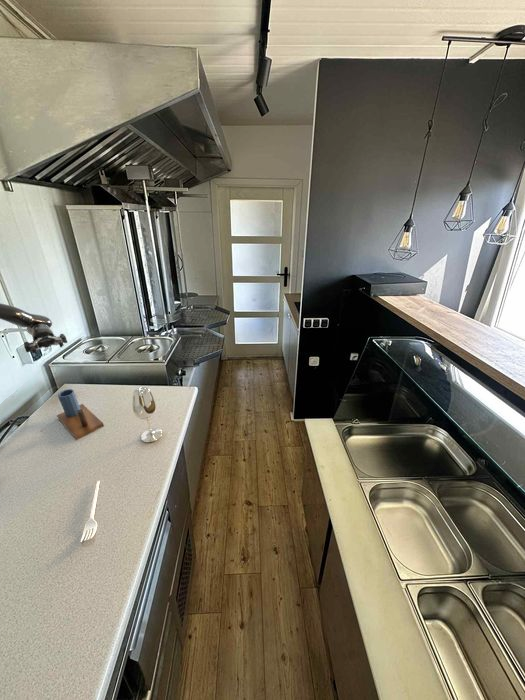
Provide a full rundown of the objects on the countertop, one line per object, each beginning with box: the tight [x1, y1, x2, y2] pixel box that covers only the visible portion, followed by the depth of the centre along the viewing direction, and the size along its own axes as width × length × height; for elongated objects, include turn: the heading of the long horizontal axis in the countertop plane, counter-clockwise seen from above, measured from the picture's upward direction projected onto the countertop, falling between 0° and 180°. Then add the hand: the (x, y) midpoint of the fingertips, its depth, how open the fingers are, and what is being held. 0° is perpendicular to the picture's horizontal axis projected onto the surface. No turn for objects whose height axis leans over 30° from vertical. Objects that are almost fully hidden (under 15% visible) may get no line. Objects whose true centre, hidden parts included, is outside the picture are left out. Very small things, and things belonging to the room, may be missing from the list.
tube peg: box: [57, 388, 81, 417], centre depth 117 cm, size 5×5×10 cm
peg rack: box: [56, 403, 105, 441], centre depth 114 cm, size 10×20×8 cm, turn 50°
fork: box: [80, 480, 101, 543], centre depth 81 cm, size 3×20×2 cm, turn 20°
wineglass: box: [131, 386, 163, 443], centre depth 104 cm, size 8×8×20 cm
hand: (48, 348), depth 114 cm, fingers open, 8 cm apart
